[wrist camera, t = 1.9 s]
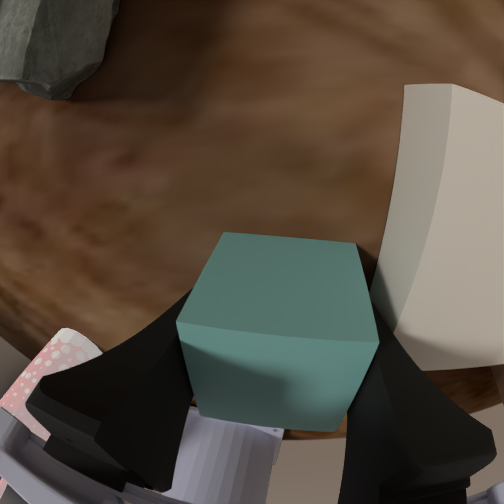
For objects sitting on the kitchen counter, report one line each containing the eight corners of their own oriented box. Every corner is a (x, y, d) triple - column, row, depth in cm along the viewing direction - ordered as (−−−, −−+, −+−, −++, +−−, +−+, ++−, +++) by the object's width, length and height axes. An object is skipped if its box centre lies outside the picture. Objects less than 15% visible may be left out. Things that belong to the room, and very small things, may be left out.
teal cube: (333, 337, 13) (335, 431, 9) (229, 326, 14) (199, 415, 10) (355, 243, 11) (379, 342, 6) (223, 232, 11) (175, 321, 7)
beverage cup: (92, 380, 20) (23, 509, 9) (41, 328, 18) (-47, 456, 6) (132, 374, 18) (53, 540, 6) (71, 310, 16) (-42, 480, 4)
